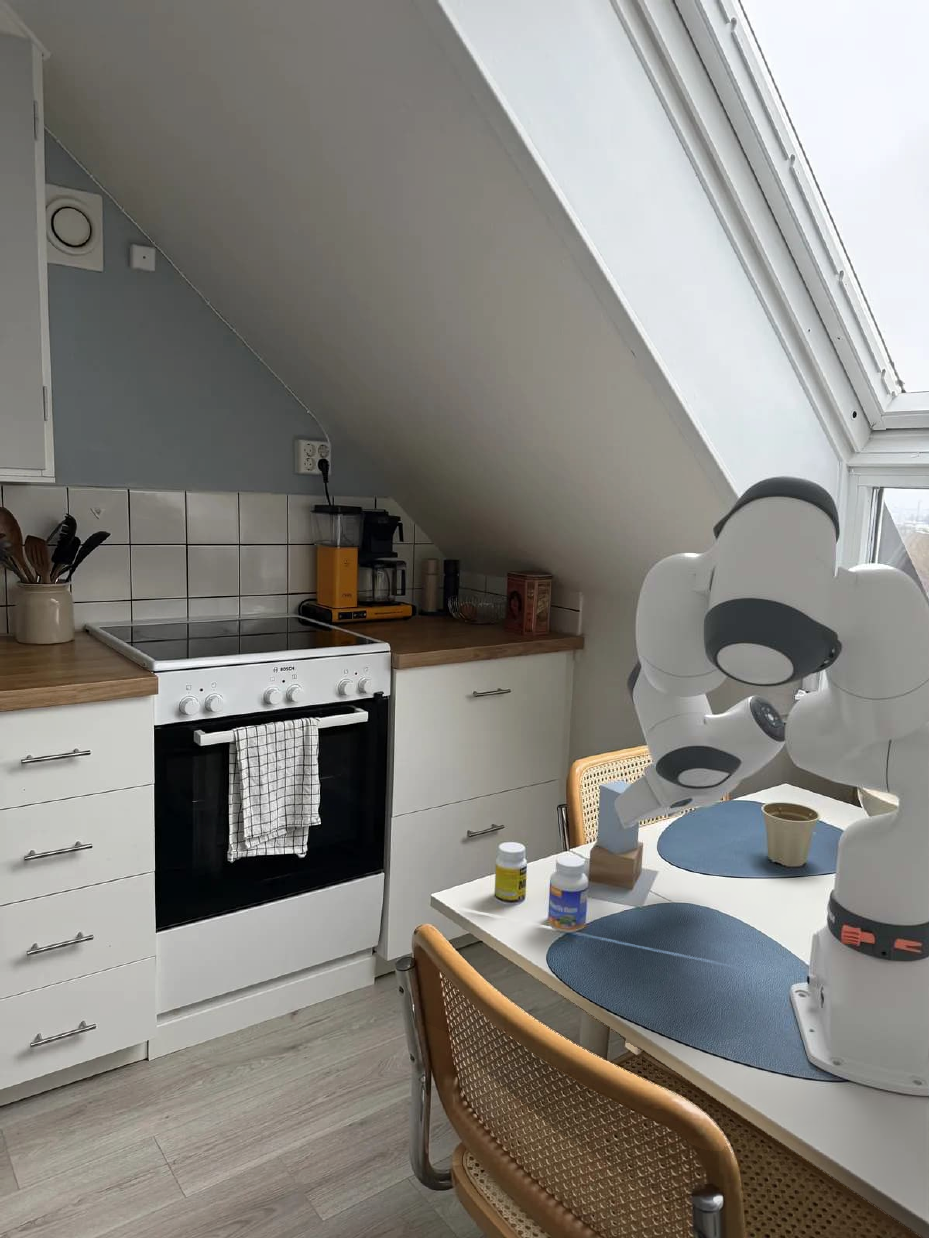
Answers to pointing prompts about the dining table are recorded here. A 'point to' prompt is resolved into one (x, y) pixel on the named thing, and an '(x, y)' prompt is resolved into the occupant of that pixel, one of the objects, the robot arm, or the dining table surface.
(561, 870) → the pill bottle
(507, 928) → the dining table surface
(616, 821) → the slate pillar
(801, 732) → the robot arm
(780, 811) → the flower pot
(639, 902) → the mat
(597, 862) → the walnut block
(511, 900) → the supplement bottle
